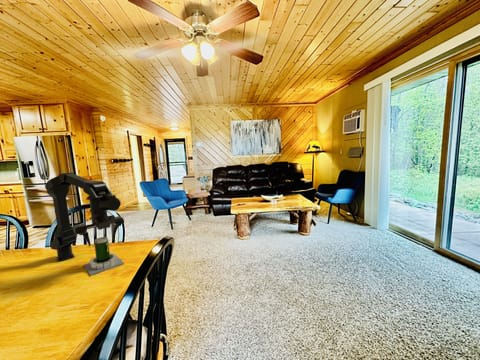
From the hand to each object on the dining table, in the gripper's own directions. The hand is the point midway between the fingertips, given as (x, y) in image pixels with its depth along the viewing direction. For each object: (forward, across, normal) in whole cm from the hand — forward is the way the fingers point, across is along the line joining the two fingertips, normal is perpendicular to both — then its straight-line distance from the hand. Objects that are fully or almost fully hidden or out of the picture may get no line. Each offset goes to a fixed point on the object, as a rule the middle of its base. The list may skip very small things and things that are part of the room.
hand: (101, 242), depth 96 cm
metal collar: (+11, 0, 0) cm, 11 cm away
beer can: (+10, 0, 0) cm, 10 cm away
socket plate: (+11, 0, 0) cm, 11 cm away
